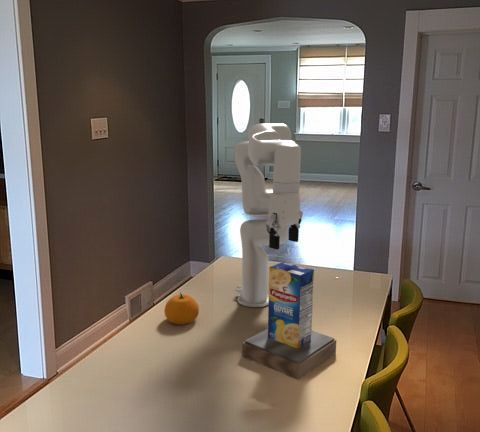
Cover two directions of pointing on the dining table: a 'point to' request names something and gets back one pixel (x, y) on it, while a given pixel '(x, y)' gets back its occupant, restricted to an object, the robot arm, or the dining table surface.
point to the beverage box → (290, 304)
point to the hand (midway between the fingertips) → (283, 244)
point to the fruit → (181, 309)
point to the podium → (289, 353)
